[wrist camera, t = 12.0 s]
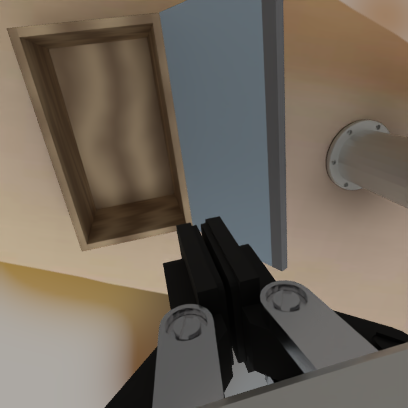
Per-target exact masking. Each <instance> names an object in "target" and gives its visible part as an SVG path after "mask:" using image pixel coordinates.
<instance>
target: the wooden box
mask: <svg viewBox="0 0 408 408" xmlns="http://www.w3.org/2000/svg"><path fill="white" fill-rule="evenodd" d="M7 31H8V34H9V37H10V40H11V43H12V46H13V49H14V52H15V55H16V58H17V61H18V63H19V66H20V69H21V72H22V75H23V78H24V81H25V84H26V87H27V90H28V93H29V96H30V99H31V102H32V105H33V108H34V111H35V114H36V117H37V120H38V123H39V126H40V129H41V132H42V135H43V138H44V141H45V144H46V146H47V149H48V152H49V155H50V158H51V161H52V164H53V167H54V170H55V173H56V176H57V179H58V182H59V185H60V188H61V191H62V194H63V197H64V200H65V203H66V206H67V209H68V212H69V215H70V218H71V221H72V224H73V226H74V229H75V232H76V235H77V238H78V241H79V244H80V247H81V250H82V251H87V250H91V249H96V248H101V247H105V246H110V245H114V244H119V243H124V242H128V241H133V240H137V239H142V238H147V237H151V236H156V235H160V234H165V233H170V232H174V231H177V229H176V225H180V224H185V223H191V225H192V226H193V224H192V218H191V212H190V205H189V199H188V193H187V186H186V180H185V173H184V167H183V161H182V154H181V148H180V142H179V135H178V129H177V122H176V116H175V110H174V103H173V97H172V91H171V84H170V78H169V72H168V65H167V59H166V52H165V46H164V40H163V33H162V27H161V21H160V14H159V13H152V14H142V15H133V16H123V17H113V18H103V19H93V20H83V21H74V22H64V23H54V24H44V25H34V26H25V27H15V28H7Z"/></svg>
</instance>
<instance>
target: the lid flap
mask: <svg viewBox="0 0 408 408" xmlns="http://www.w3.org/2000/svg"><path fill="white" fill-rule="evenodd" d="M160 20H161V26H162V33H163V39H164V45H165V52H166V58H167V64H168V71H169V77H170V84H171V90H172V96H173V103H174V109H175V115H176V122H177V128H178V135H179V141H180V147H181V154H182V160H183V166H184V173H185V179H186V186H187V192H188V198H189V205H190V211H191V217H192V224H193V226H194V225H197V227H198V229H199V231H201V224H203V223H205V219H208V218H213V217H218V216H220V217H221V219H222V220H223V222H224V224H225V225H226V227H227V228H228V230H229V231H230V233H231V234H232V236H233V237H234V239H235V240H236V242H237V243H238V245H239V246H240V245H245V244H249V245H250V246H251V247H252V249H253V250H254V252H255V253H256V254H257V256H258V257H259V258H260V260H261V261H262V262H264V263H266V264H268V265H270V266H272V267H274V268H276V269H278V270H280V271H283V270H285V269H286V268H287V222H286V157H285V91H284V26H283V0H187V1H185V2H182V3H180V4H178V5H175V6H173V7H171V8H169V9H166V10H164V11H162V12H160Z"/></svg>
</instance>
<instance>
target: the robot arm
mask: <svg viewBox="0 0 408 408" xmlns="http://www.w3.org/2000/svg"><path fill="white" fill-rule="evenodd" d="M327 171H328V174H329V176H330V178H331V180H332V181H333V182H334V183H335V184H336V185H338V186H339V187H341V188H343V189H347V190H358V189H362V188H365V189H367V190H369V191H371V192H373V193H375V194H378V195H380V196H382V197H384V198H386V199H388V200H391V201H393V202H395V203H397V204H399V205H401V206H404V207H406V208H408V137H403V136H398V135H393V134H390V133H389V131H388V129H387V128H386V127H385V126H384V125H383V124H381V123H379V122H377V121H373V120H360V121H356V122H354V123H351V124H350V125H348V126H347V127H345V128H344V129H343V130H342V131H341V132H340V133H339V134H338V135H337V136H336V138H335V139H334V141H333V142H332V144H331V146H330V149H329V152H328V156H327ZM176 229H177V234H178V240H179V245H180V251H181V256H182V259H180V260H175V261H171V262H167V263H163V267H164V273H165V278H166V284H167V290H168V296H169V302H170V308H171V310H170V311H169V312H168V313H167V314H166V315H165V316H164V317H163V319H162V320H161V323H160V327H159V335H158V346H157V347H156V348H155V350H154V351H153V352H152V353H151V354H150V356H149V357H148V358H147V359H146V360H145V361H144V363H143V364H142V365H141V366H140V367H139V368H138V369H137V371H136V372H135V373H134V374H133V375H132V376H131V378H130V379H129V380H128V381H127V382H126V383H125V385H124V386H123V387H122V388H121V390H119V392H118V393H117V394H116V395H115V396H114V397H113V398H112V400H111V401H110V402H109V403H108V404H107V405H106V407H105V408H408V335H407V334H406V333H404V332H402V331H400V330H397V329H395V328H392V327H389V326H385V325H382V324H378V323H375V322H371V321H368V320H365V319H361V318H358V317H354V316H351V315H347V314H344V313H340V312H337V311H333V310H332V309H330V308H329V307H328V306H327V305H326V304H325V303H324V302H322V301H321V300H320V299H319V298H318V297H317V296H316V295H314V294H313V293H312V292H311V291H310V290H309V289H308V288H306V287H305V286H303V285H302V284H299V283H296V282H293V281H287V280H286V281H275V279H274V278H273V276H272V275H271V274H270V272H269V271H268V270H267V268H266V267H265V265H264V264H263V263H262V261H261V260H260V258H259V257H258V256H257V254H256V253H255V252H254V250H253V249H252V247H251V246H250V245H249V244H245V245H240V246H239V245H238V243H237V242H236V240H235V239H234V237H233V236H232V234H231V233H230V231H229V230H228V228H227V227H226V225H225V224H224V222H223V220H222V219H221V217H220V216H218V217H213V218H208V219H205V223H203V224H201V232H202V235H201V233H200V231H199V229H198V227H197V225H194V226H192V225H191V223H185V224H180V225H176ZM232 348H233V351H234V353H235V356H236V358H237V361H238V363H241V362H244V363H245V365H246V368H247V370H248V373H249V372H253V371H257V372H259V373H262V374H264V375H265V380H266V382H267V384H268V385H266V386H263V387H260V388H256V389H253V390H250V391H247V392H243V393H241V394H237V395H234V396H231V397H227V398H225V395H224V392H225V390H226V388H227V386H228V384H229V383H230V380H231V379H232V377H233V372H232V365H234V361H233V352H232Z"/></svg>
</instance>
